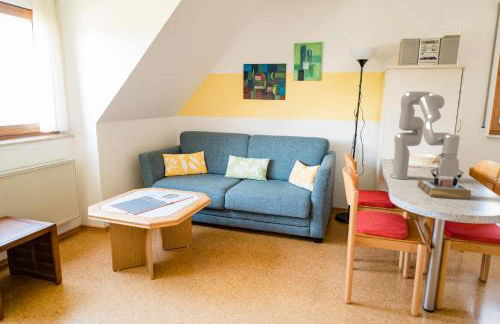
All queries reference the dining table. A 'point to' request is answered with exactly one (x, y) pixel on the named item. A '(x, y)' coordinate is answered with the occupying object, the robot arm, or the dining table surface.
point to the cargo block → (445, 183)
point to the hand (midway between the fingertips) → (445, 185)
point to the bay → (444, 192)
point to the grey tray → (432, 185)
